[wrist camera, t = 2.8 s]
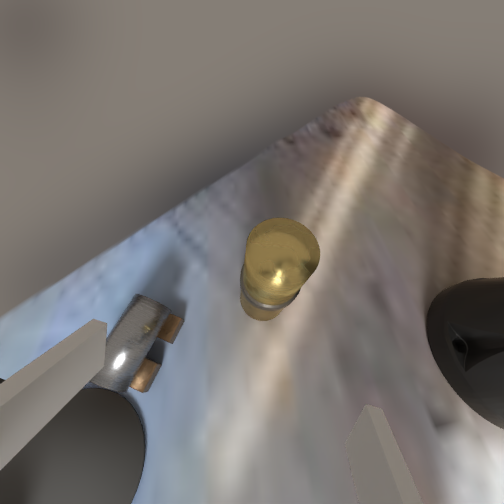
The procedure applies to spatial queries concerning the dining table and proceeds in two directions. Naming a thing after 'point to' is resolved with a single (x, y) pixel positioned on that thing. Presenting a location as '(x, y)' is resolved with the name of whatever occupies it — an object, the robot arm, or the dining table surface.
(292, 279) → the gold cylinder with ring
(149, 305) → the shaft
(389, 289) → the dining table surface
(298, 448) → the dining table surface
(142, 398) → the dining table surface
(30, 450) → the socket pad
